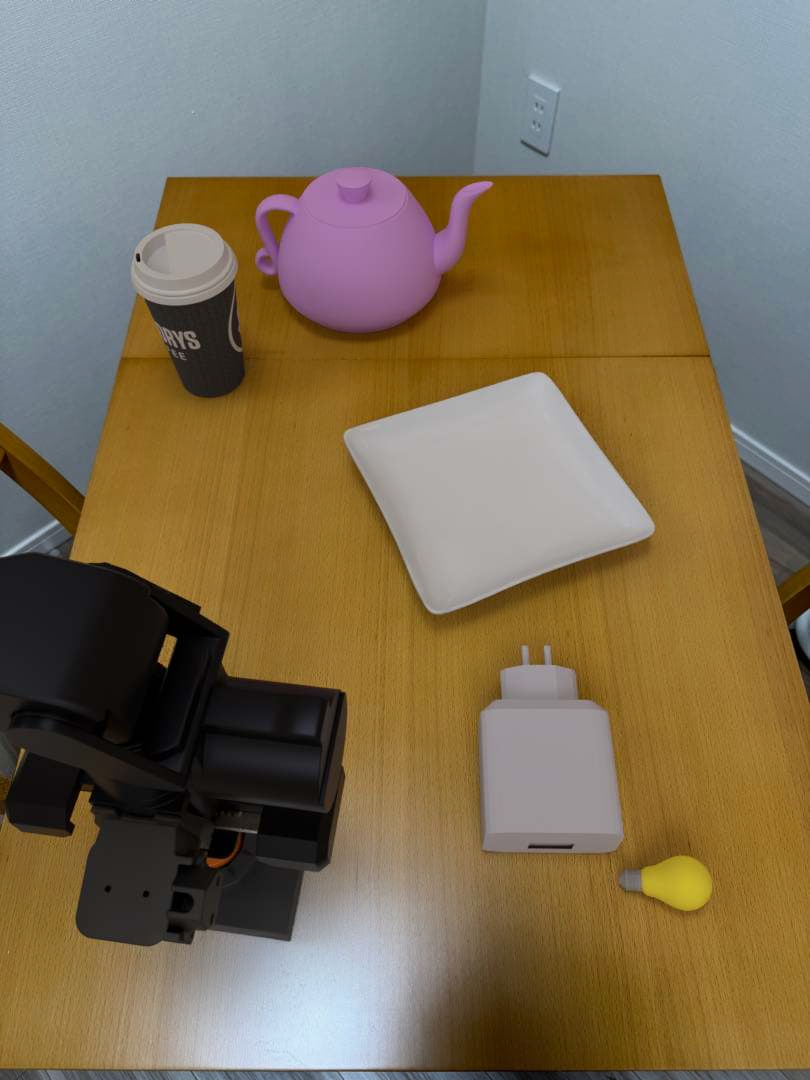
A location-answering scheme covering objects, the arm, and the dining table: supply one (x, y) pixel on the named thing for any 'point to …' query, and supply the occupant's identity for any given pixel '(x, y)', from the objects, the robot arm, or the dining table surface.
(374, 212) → the teapot
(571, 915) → the dining table surface
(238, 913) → the switch base
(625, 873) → the light bulb
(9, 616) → the robot arm
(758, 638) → the dining table surface
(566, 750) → the charger
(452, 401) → the plate
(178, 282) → the coffee cup
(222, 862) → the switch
